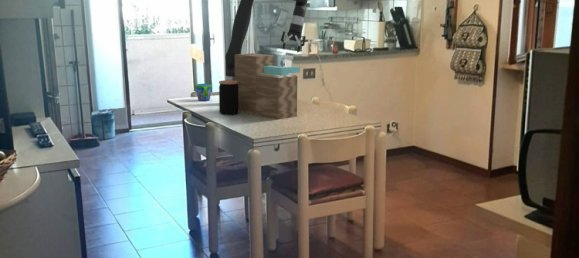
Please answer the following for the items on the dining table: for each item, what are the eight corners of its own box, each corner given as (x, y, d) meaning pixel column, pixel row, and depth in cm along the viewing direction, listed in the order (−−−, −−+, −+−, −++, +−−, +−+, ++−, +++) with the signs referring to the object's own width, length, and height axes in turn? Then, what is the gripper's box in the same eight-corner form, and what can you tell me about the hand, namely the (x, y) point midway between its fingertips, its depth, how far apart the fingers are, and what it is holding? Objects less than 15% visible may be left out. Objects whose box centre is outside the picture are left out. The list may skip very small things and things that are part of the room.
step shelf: (278, 119, 299) (278, 58, 293) (235, 110, 324) (234, 54, 318) (296, 116, 309) (297, 57, 302) (253, 107, 334) (253, 53, 327)
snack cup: (194, 98, 365) (194, 83, 363) (211, 98, 367) (210, 82, 365) (196, 102, 350) (195, 86, 348) (213, 102, 353) (213, 85, 350)
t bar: (281, 75, 299) (281, 68, 298) (263, 73, 308) (263, 66, 308) (306, 73, 312) (306, 65, 311) (288, 71, 322) (288, 64, 321)
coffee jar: (241, 112, 318) (241, 80, 314) (233, 115, 308) (233, 83, 304) (224, 111, 321) (224, 79, 318) (216, 114, 311) (215, 82, 308)
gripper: (284, 20, 334) (278, 47, 336) (308, 26, 333) (301, 53, 335) (285, 22, 342) (279, 48, 343) (308, 27, 341) (302, 53, 342)
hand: (290, 50), depth 339 cm, fingers open, 8 cm apart
